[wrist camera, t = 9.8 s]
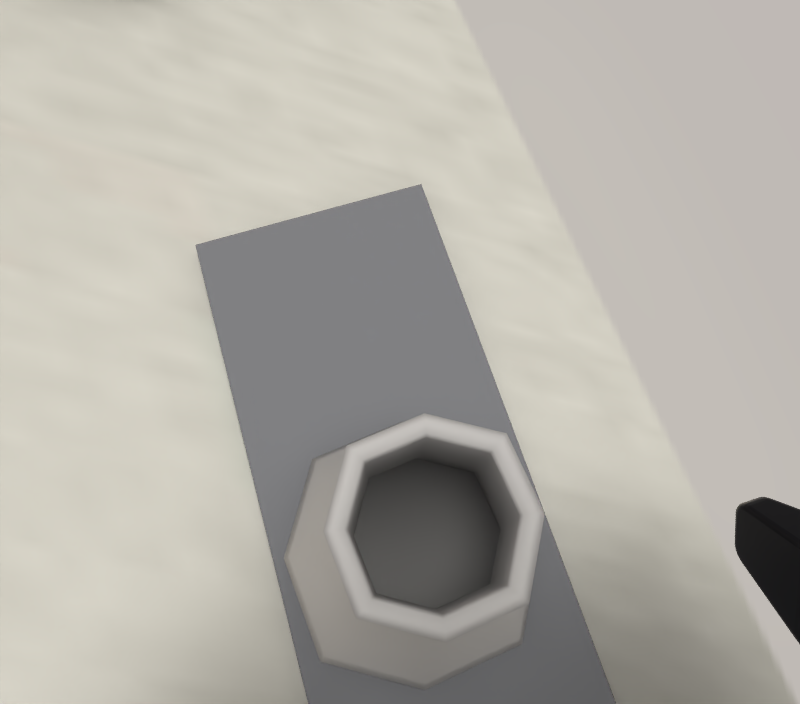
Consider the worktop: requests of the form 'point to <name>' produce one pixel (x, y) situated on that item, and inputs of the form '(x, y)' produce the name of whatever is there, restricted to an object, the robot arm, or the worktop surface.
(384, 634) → the flask
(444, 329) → the charcoal mat
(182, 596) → the worktop surface
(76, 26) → the worktop surface
